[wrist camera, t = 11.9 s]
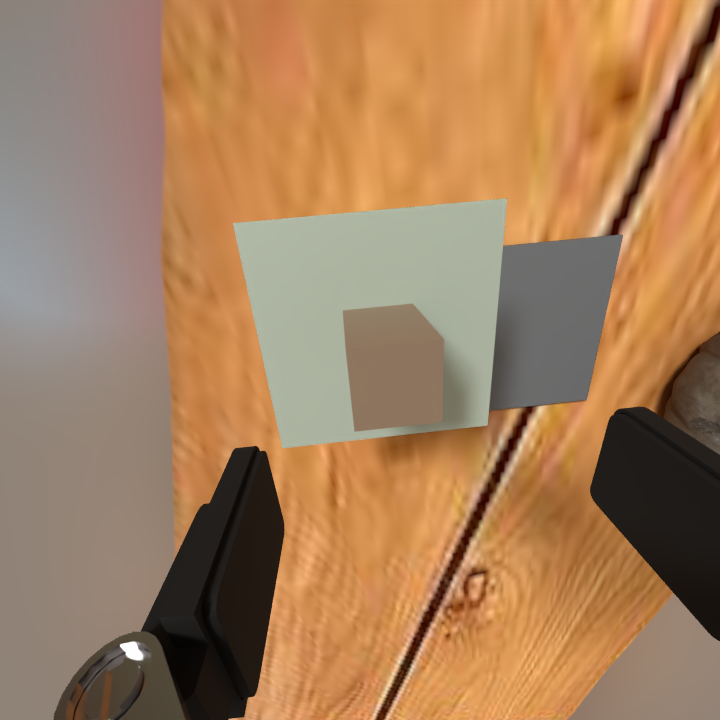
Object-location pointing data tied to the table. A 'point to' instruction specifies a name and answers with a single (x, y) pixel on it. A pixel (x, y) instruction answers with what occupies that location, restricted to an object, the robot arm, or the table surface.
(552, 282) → the mat
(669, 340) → the table surface
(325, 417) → the lid
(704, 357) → the gourd
